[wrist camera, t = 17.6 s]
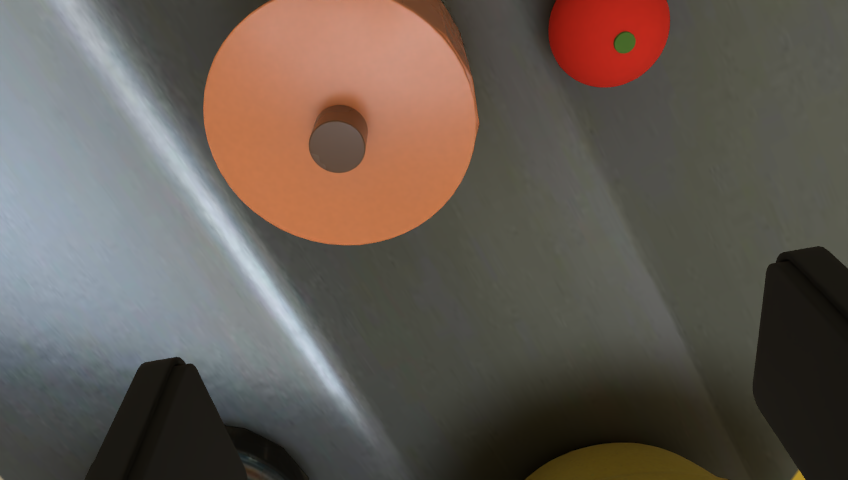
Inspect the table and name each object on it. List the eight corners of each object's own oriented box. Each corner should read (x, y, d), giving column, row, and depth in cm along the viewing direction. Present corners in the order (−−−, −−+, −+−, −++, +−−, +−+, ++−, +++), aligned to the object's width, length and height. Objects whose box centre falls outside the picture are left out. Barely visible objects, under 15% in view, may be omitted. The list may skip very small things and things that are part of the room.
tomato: (534, -32, 35) (557, -11, 29) (647, -55, 34) (691, -37, 29) (543, 76, 38) (566, 114, 32) (647, 57, 37) (687, 92, 32)
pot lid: (165, 18, 28) (139, 36, 25) (446, -49, 26) (450, -37, 24) (262, 254, 34) (249, 289, 31) (493, 208, 33) (501, 240, 30)
